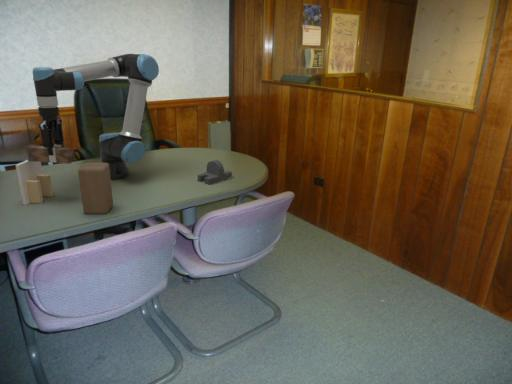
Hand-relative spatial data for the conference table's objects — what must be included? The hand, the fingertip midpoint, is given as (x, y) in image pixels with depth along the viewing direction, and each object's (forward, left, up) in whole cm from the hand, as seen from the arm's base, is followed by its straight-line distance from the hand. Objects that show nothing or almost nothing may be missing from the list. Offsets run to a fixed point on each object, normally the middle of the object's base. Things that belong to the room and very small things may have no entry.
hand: (56, 160), depth 166 cm
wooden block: (-21, +8, -19) cm, 29 cm away
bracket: (-64, -41, -19) cm, 78 cm away
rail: (+2, 0, 0) cm, 2 cm away
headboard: (+9, 0, -19) cm, 21 cm away
